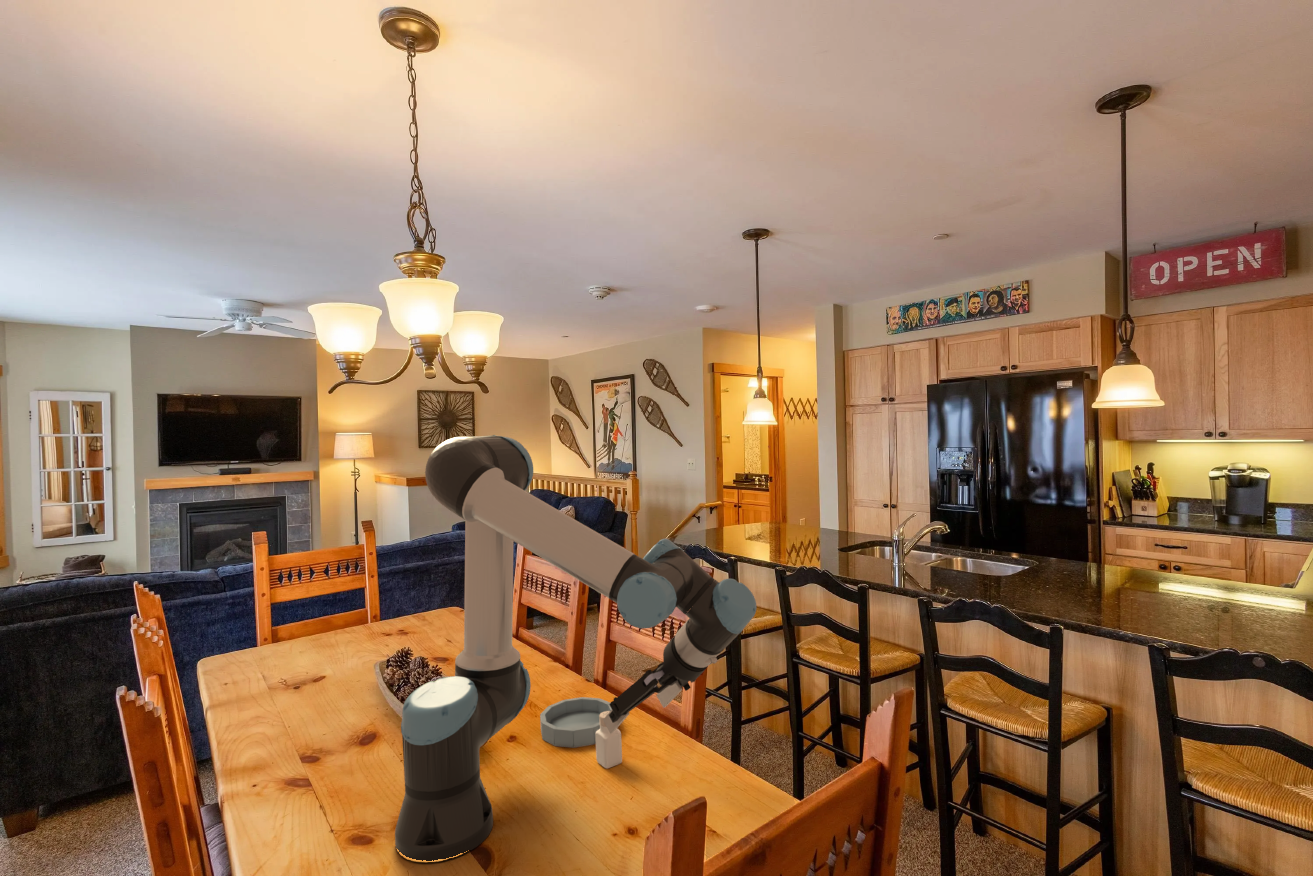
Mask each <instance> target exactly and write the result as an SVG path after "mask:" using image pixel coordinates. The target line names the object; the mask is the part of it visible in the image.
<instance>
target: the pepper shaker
mask: <svg viewBox="0 0 1313 876" xmlns="http://www.w3.org/2000/svg"><path fill="white" fill-rule="evenodd" d="M609 712H610V711H605V712H602V713H600V715H599V721H600V729H599V730H597V731H596V733H595V735H596V744H595V756H596V762H597V763H598V764H599V765H601V766H602V767H603V768H604V769H610V768H612V767H615V766H618V765H620V764H622V762H623V750H622V749H623V748H622V747H623V746H622V733H621V730H620V729H619V728H617V729H616V730H615V731H614V732H613V733H611V734H610V732H609V730H608V728H607V727H606V725H605V723H604V721H603V719H604V718H605V717H606V716H607V714H608V713H609Z"/></svg>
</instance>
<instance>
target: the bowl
mask: <svg viewBox="0 0 1313 876" xmlns="http://www.w3.org/2000/svg"><path fill="white" fill-rule="evenodd" d="M610 703H611V701H607V700H606V699H605V700H604V699H602V698H599V697H587V696H586V697H585V696H584V697H582V696H581V697H574V698H568V699H563V700H560V701H557V702H555V703H553V704H552V703H551V705H548V706H547V707H546V708H545V709H544V710H543V711H542V712H541V713H540V714H539V715H540V716H539V718H540V720H539V721H540V733H541V737H542V740H543V741H544V742H546V743H549V744H550V745H551V746H554V747H561V748H564V747H565V748H571V749H572V748H574V749H575V748H580V747H587V746H592V745H596V735H595V733H596V731H597V730H599V729H600V721H599V715H600V713H602V712H605V711H611V710H612V709H611V707H610V705H609V704H610Z"/></svg>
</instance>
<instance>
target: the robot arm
mask: <svg viewBox="0 0 1313 876" xmlns="http://www.w3.org/2000/svg"><path fill="white" fill-rule="evenodd" d="M424 471H425V472H424V473H425V476H424V477H425V482H426V485H427V488H428V490H429V491H430V494H432V497H433V498H435V500H437V502H439V503H440V504H441V505H442V506H443V507H444V508H446V509H447V510H449V511H451V513H453V514H455V515H457V517H460V518H462V519H463V520H464V521H465V527H464V529H465V532H464V533H465V537H464V539H465V540H464V541H465V542H464V543H465V544H464V545H465V546H464V609H463V611H464V613H463V614H464V615H463V616H464V617H463V619H464V621H463V625H464V626H463V627H464V628H463V629H464V631H463V638H464V639H463V650H462V651H461V652H460V653H459V654H458V655H456V657H455V663H454V667H455V668H454V676H445V677H440V678H437V679H436V680H435V681H429V682H426V683H424V684H422V685H420V686H419V687H418V688H416V689H414V690H413V691H412V692H411V694H409V695H408V697H407V698H406V699H405V701H404V703H403V705H402V706H403V707H402V716H401V717H402V718H401V724H400V729H401V731H400V733H401V735H402V736H401V737H402V738H401V739H402V740H401V741H402V754H403V759H402V760H403V773H404V774H403V775H404V778H403V779H404V797H403V800H402V803H401V807H400V811H399V814H398V818H397V822H396V824H395V825H396V826H395V829H394V842H395V845H396V846H395V849H396V848H397V849H398V850H399V852H401V853H402V854H403V855H405V856H406V857H409V858H412V859H416V860H422V861H423V860H426V861H432V860H433V861H434V860H438V859H446V858H449V857H453V856H456V855H458V854H460V853H464V852H466V851H468V850H471V851H472V850H474V849H476V848H477V847H478V846H480V845H481V844H482V843H483V842H484V841H485V840H486V839H487V838H488V836H489V835H490V834H491V831H492V829H493V827H494V815H493V814H494V812H493V807H492V806H493V805H492V803H491V801H490V799H489V796H488V793H487V791H486V789H485V785H484V783H483V782H482V778H481V770H480V769H481V765H480V763H481V762H480V748H481V747H482V746H483V745H484V744H485V743H486V742H488V741H489V740H490V739H491V738H492V737H493V736H495V735H496V734H497V733H498V732H499V731H501V730H502V729H503V728H504V727H505V726H506V725H508V724H510V723H511V722H513V720H514V719H516V718H517V717H518V716H519V714H520V713H521V711H522V710H523V709H524V708H525V706H526V705H527V703H528V700H529V697H530V694H531V684H532V683H531V676H530V673H529V671H528V669H527V668H525V666H524V663H523V661H522V660H521V653H520V651H519V650H518V649H517V648H515V647H514V646H513V616H514V615H513V613H514V612H513V607H514V604H513V598H514V543H516V544H518V545H519V546H521V547H522V548H524V549H526V550H528V551H529V552H531V553H533V554H535V556H536V555H537V557H540V558H541V559H543V560H544V561H546V562H548V563H550V564H551V565H552V566H555V567H556V568H558V569H560V570H561V571H562V572H565V574H566V573H567V574H568V575H569V576H571V577H573V578H574V579H576V580H578V581H579V582H580V583H582V584H584V585H586V586H587V587H589V588H591V589H593V590H595V591H596V592H597V593H598V594H601V595H603V596H604V597H606V598H607V599H609V600H611V601H612V602H614V603H616V605H617V610H618V612H619V613H620V616H622V618H623V619H624V621H625V622H626V623H627V624H629V625H630V626H632V627H634V628H638V629H650V628H654V627H656V626H657V625H659V624H661V623H662V622H664V621H665V620H667V619H668V618H669V617H670V615H672V614H673V613H674V611H675V610H676V608H677V609H678V610H679V611H680V612H681V613H682V614H684V615H685V616H687V618H688V619H687V620H686V621H685V623H684V624H683V625H682V626H681V627H680V628H679V630H677V632H676V633H675V635H674V636H673V637H672V638H671V639H670V640H669V641H668V643H667V644H666V645H665V646H664V649H663V653H662V657H663V658H662V659H663V661H661V662H660V663H659V664H658V665H657V666H656V668H655V669H653V670H652V669H648V670H646V671H645V672H644V673H643V675H642V676H641V677H639V679H637V680H636V681H635V682H634V683H632V684H631V685H630V686H629V687H628V688H626V689H625V690H624V691H623V692H622V693H621V694H620V695H618V696H617V697H616V696H615V697H613V700H612V701H610V704H609V705H610V707H611V709H612V710H611V711H610V712H609V713H608V714H607V716H606V717H605V718H604V719H603V721H604V723H605V725H606V727H607V728H608V730H609V732H610V734H611V733H613V732H614V731H615V730H616V729H619V726H620V725H621V724H623V722H624V721H625V720H626V719H627V718H628V716H629V715H630V712H631V711H633V710H634V709H635V708H636V707H638V706H639V705H640V704H642V703H644V702H645V700H647V699H648V698H650V697H651V696H652V695H654V694H656V695H655V696H656V697H657V699H658V701H659V703H660V705H661V706H662V708H663V709H664V708H666V707H668V705H669V704H671V702H672V701H673V700H674V699H675V698H676V697H677V696H678V694H680V692H681V691H682V690H683V689H684V690H685V691H686V692H687V691H688V690H690V689H691V688H692V687H691V685H690V684H689V682H690V683H695V682H696V681H697V679H698V678H699V677H700V676H701V675H702V674H703V673H704V672H705V670H707V668H708V667H709V666H710V665H711V664H717V662H718V658H717V657H718V656H720V654H721V653H722V652H723V651H724V650H725V649H726V648H727V647H728V646H729V645H730V644H731V643H732V642H733V640H735V639H736V638H737V637H738V635H740V634H741V633H742V631H744V630H745V628H746V627H747V626H748V624H749V623H750V622H751V620H752V619H754V617H755V615H756V611H757V601H756V598H755V596H754V594H753V592H752V591H751V590H750V588H749V587H748V586H746V584H745V583H742V582H738V581H737V580H736V579H734V578H724V579H723V580H721V581H718V580H717V579H715V578H714V577H712V575H710V573H708V572H707V571H706V570H705V569H704V568H703V567H702V566H701V565H699V564H698V563H697V562H696V561H695V560H694V559H693V558H691V557H690V556H689V555H688V554H687V553H686V552H685V551H684V549H683V548H682V547H679V546H678V545H676V544H675V543H674V542H673V541H671V539H668V538H662V539H660V540H659V541H657V542H656V544H654V545H653V546H652V547H651V549H650V550H649V551H647V553H646V554H645V555H644V557H643V558H642V557H640V556H639V555H637V554H636V553H634V552H632V551H630V550H628V549H627V548H625V547H623V546H622V545H620V544H618V543H616V542H614V541H612V540H611V539H609V538H608V537H606V536H604V535H602V534H601V533H599V532H597V531H595V530H594V529H592V528H590V527H589V526H587V525H585V524H583V523H581V522H580V521H578V520H576V519H574V518H573V517H571V516H570V515H568V514H566V513H564V512H562V511H561V510H559V509H557V508H555V507H554V506H552V505H550V504H549V503H547V502H545V501H543V500H542V499H540V498H538V497H537V496H534V495H533V494H532V493H530V492H529V491H526V490H527V489H528V487H529V486H530V485H531V483H532V481H533V477H534V463H533V459H532V457H531V455H530V453H529V451H528V450H527V448H525V446H524V445H523V444H522V443H520V441H518V440H516V439H514V438H512V437H508V436H502V435H495V434H492V435H482V436H480V435H478V436H477V435H476V436H455V437H452V438H449V439H446V440H445V441H443V442H441V443H440V444H438V445H437V446H436V447H435V448H434V449H433V450H432V452H431V453H430V454H429V457H428V458H427V461H426V465H425V468H424ZM658 684H659V685H660V687H659V686H658Z"/></svg>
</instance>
